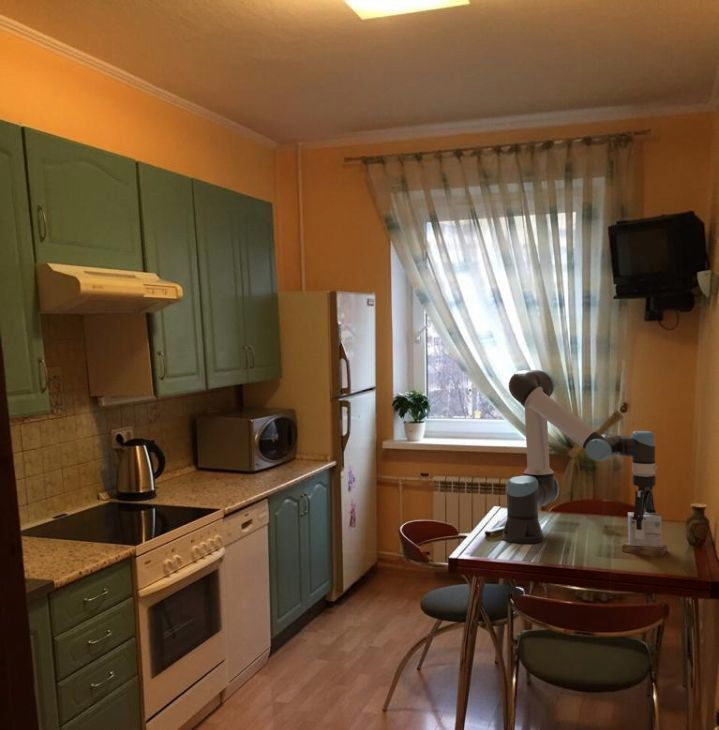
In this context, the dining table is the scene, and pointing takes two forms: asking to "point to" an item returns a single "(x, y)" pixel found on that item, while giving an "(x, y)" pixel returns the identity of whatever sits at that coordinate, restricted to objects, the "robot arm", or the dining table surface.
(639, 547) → the brown flat tray
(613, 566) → the dining table surface
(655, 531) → the light bulb box
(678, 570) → the dining table surface
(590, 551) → the dining table surface
